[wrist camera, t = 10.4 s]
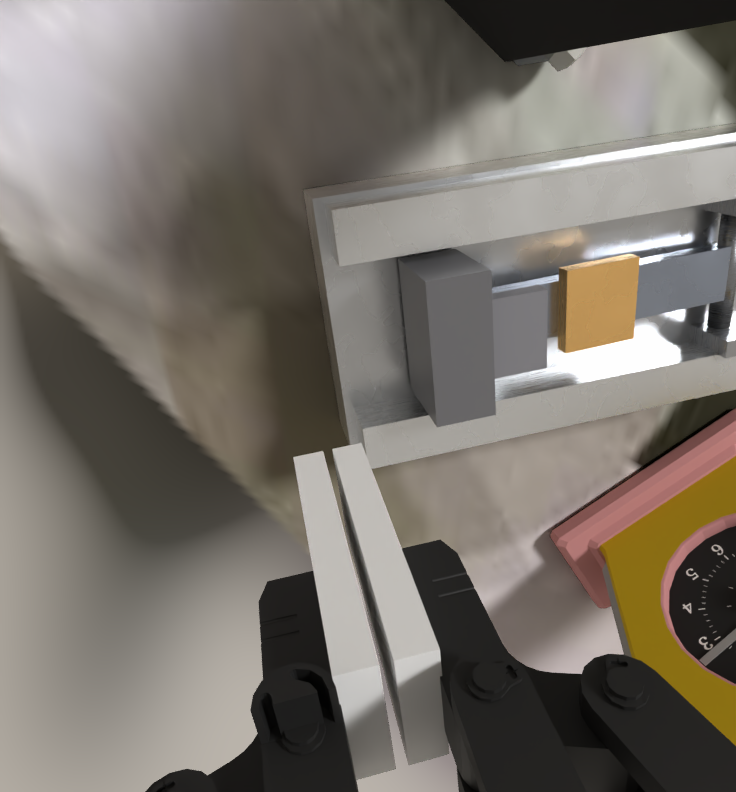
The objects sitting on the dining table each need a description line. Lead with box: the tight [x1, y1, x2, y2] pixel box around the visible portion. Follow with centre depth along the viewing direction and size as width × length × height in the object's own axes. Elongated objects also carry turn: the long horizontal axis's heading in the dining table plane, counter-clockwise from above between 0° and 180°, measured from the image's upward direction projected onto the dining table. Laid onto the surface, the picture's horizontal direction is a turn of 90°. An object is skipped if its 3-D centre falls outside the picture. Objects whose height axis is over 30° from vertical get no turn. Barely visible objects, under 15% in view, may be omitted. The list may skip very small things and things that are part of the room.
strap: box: [492, 213, 736, 354], centre depth 32 cm, size 6×16×2 cm, turn 97°
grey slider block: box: [398, 249, 548, 427], centre depth 30 cm, size 7×6×5 cm
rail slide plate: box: [303, 123, 736, 469], centre depth 34 cm, size 14×26×7 cm, turn 97°
